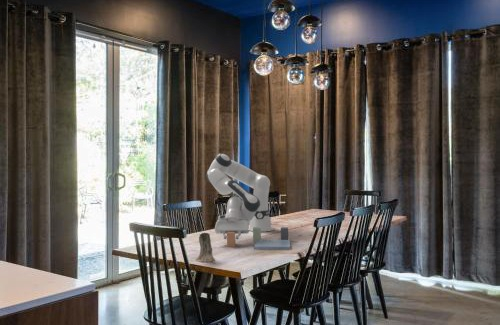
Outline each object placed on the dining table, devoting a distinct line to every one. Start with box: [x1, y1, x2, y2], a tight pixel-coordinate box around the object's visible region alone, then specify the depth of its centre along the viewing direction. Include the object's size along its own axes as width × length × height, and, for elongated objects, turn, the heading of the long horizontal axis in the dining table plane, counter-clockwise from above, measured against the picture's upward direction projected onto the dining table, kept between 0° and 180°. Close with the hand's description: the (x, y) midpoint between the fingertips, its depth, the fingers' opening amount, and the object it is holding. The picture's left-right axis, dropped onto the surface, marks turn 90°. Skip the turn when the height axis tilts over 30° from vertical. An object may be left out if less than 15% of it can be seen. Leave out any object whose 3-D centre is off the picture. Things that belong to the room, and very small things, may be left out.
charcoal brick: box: [280, 226, 289, 240], centre depth 270 cm, size 4×4×8 cm
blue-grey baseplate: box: [253, 239, 291, 250], centre depth 256 cm, size 20×20×2 cm
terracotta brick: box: [226, 232, 237, 248], centre depth 257 cm, size 4×4×8 cm
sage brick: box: [252, 227, 262, 242], centre depth 272 cm, size 4×4×8 cm
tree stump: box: [195, 232, 216, 263], centre depth 224 cm, size 10×10×13 cm
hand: (231, 238), depth 256 cm, fingers open, 6 cm apart
